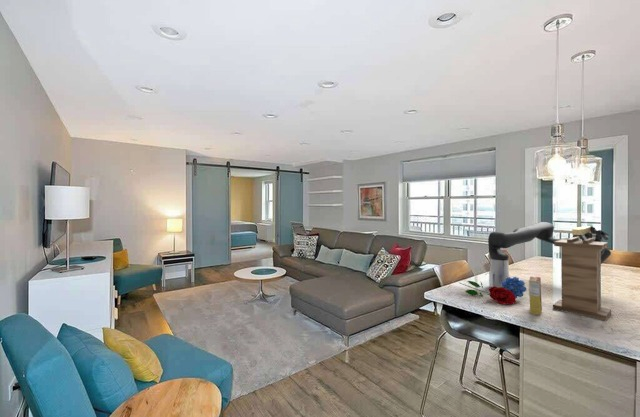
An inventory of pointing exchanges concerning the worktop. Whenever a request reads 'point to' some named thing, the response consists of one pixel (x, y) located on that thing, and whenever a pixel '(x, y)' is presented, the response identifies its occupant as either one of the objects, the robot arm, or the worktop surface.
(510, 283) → the grapes
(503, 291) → the flower
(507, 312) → the worktop surface
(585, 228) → the bar
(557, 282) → the worktop surface
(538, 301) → the candy box
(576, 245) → the walnut post
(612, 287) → the worktop surface
